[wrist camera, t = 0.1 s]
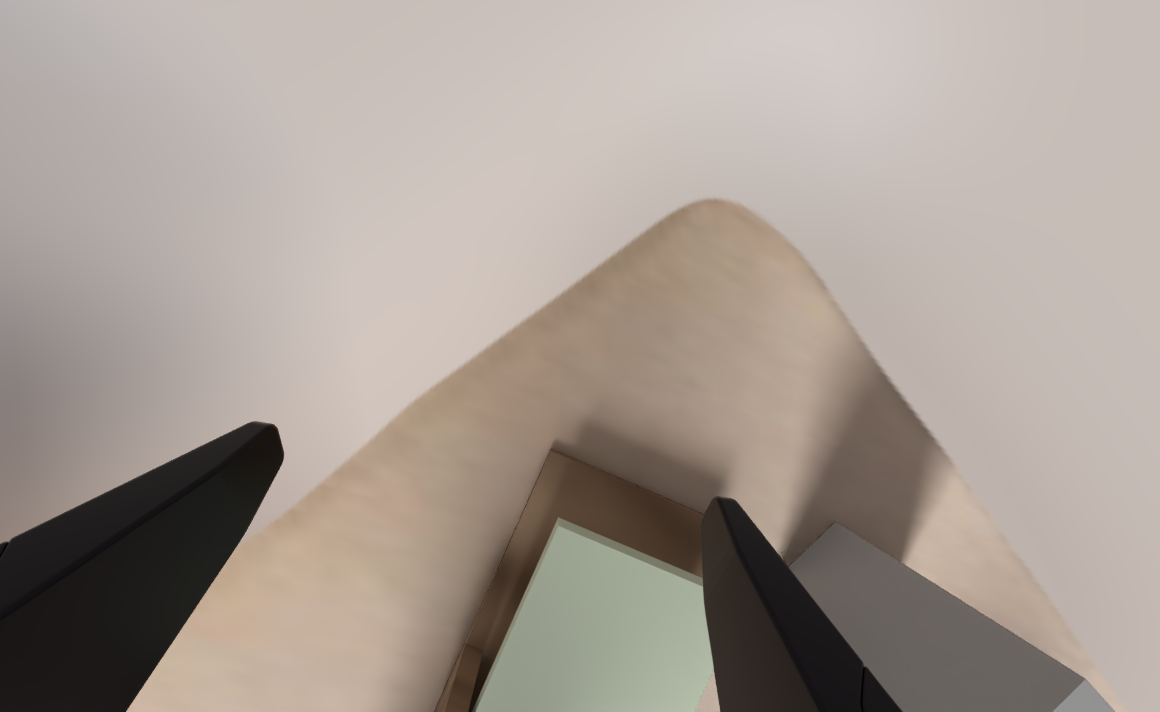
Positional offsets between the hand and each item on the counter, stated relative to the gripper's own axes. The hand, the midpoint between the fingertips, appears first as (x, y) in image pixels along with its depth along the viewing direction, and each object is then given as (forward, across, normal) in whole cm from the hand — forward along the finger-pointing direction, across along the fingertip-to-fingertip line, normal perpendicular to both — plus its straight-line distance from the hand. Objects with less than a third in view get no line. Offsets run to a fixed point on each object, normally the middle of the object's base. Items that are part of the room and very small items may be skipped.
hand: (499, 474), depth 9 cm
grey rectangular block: (+8, -18, +14) cm, 25 cm away
